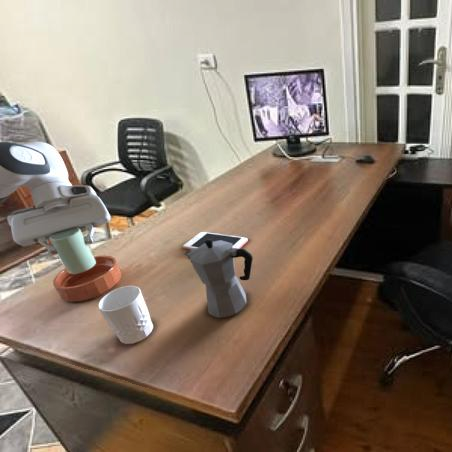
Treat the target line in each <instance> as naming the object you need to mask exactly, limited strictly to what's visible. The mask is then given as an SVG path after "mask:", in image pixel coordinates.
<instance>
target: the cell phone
mask: <svg viewBox="0 0 452 452" xmlns="http://www.w3.org/2000/svg"><path fill="white" fill-rule="evenodd" d="M207 239H212V242H214V241H219V240H222V241H225V242H229V243H232V246H233V248H238V249H242V247H243V246H244V245H246V243H248V241H249V240H248V238H247V237H242V236H237V235H228V234H221V233H215V232H214V233H213V232H208V231H207V232H206V231H200V232H199V233H198V234H196V235H195V236H193V238H191V239H190V240H188V241H187V242H186V243H185V244H183V245H182V247H183V249H188V250H191V249H195V248H198V247H200V246H201V245H203V244H205V240H207Z"/></svg>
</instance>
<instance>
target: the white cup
mask: <svg viewBox="0 0 452 452" xmlns="http://www.w3.org/2000/svg"><path fill="white" fill-rule="evenodd" d="M97 307H98V310H99V311H100V312H101V314H102V316H103V317H104V319H105V320H106V322H107V325H109V327H110V328H111V330H112V331H113V333H114V334H115V335H116V337H117V338H118V339H119V341H120V343H122V344H124V345H134V344H136V343H139V342H141V341H143V340H144V339H146V338H147V337H149V335H150V334H152V331H153V329H154V325H153V321H152V319H151V314H150V313H149V309H148V306H147V304H146V301H145V299H144V296H143V293H142V291H141V289H140V287H138V286H136V285H125V286H121V287H118V288H115V289H113V290H111V291H109V292H108V293H106V294H105V295H104V296H103V297H102V298H101V299H100V300H99V301H98V304H97Z"/></svg>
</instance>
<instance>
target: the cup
mask: <svg viewBox="0 0 452 452" xmlns="http://www.w3.org/2000/svg"><path fill="white" fill-rule="evenodd" d="M84 236H85V235H84V234H83V233H82V230H80V228H78V227H76V228H72V229H68V230H65V231H61V232H58V233H55V234H52V235H51V236H50V238H49V242H50V243H51V244H52V245H51V246H54V248H55V250H56V252H57V254H56V255H57V256H58V257H59V259H60V261H61V263H62V265H63V266H64V269H65V268H66V270H67V272H68V273H70V274H77V273H81V272H84V271H87V270H89V269H90V268H92V267H93V266H94V265H95V264H96V260H95V258H94V257H95V256H94V254H93V252H92V250H91V248H90V247H89V244H86V243H85V239H84Z"/></svg>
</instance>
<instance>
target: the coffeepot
mask: <svg viewBox="0 0 452 452" xmlns="http://www.w3.org/2000/svg"><path fill="white" fill-rule="evenodd" d="M183 256H185V257H187V258H188V259H189V261H190V264H191V265H192V267H193V268H194V271H195V272H196V274H197V276H198V278H199V280H200V281H201V283H202V284H204V285H205V293H206V301H207V311H208V314H210V315H211V316H213V317H216V318H220V319H221V318H229V317H232V316H234V315H237V314H238V313H239V312H241V311H242V310H243V309H244V308H245V307H246V305H247V294H246V292H245V290H244V288H243V287H242V284H241V282H240V281H249V280H250V279H251V271H252V264H253V261H254V259H253V258H254V257H253V255H252V253H250V252H249V250H247V249H246V248H240V249H238V248H233V246H232V243H229V242H225V241H222V240H219V241H214V242H212V239H207V240H205V244H203V245H201V246H200V247H198V248H195V249H188V250H186V251H185V253H184V254H183ZM236 258H243V259H244V261H243V262H244V263H243V265H244V268H243V274H244V275H243V276H242V275H241V276H237V275H236V267H235V259H236ZM238 277H239V278H238Z"/></svg>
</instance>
